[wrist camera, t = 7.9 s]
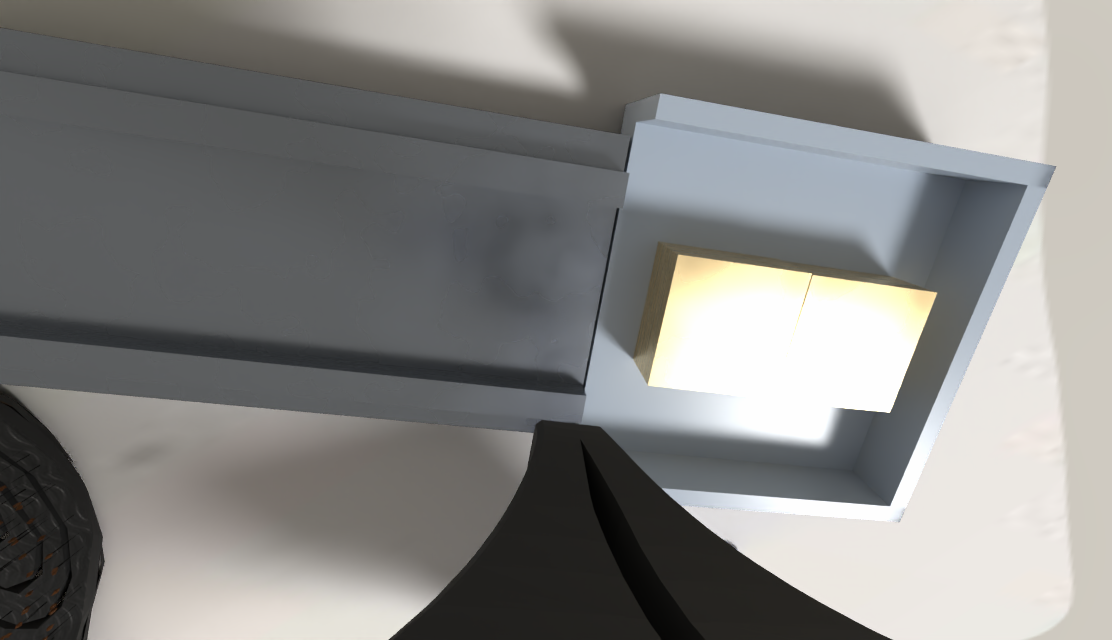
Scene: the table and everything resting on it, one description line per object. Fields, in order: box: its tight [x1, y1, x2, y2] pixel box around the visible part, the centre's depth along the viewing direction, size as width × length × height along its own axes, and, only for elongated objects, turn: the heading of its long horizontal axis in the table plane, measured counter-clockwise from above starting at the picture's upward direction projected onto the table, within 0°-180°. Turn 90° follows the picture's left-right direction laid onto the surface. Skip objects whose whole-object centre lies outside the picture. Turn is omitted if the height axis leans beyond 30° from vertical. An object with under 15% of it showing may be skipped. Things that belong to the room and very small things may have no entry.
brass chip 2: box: [773, 261, 937, 412], centre depth 17 cm, size 4×4×2 cm
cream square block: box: [633, 241, 812, 399], centre depth 16 cm, size 4×4×2 cm
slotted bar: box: [0, 28, 630, 433], centre depth 16 cm, size 18×10×3 cm, turn 81°
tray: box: [576, 93, 1056, 522], centre depth 17 cm, size 11×12×4 cm
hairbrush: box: [0, 394, 105, 640], centre depth 20 cm, size 8×4×25 cm
